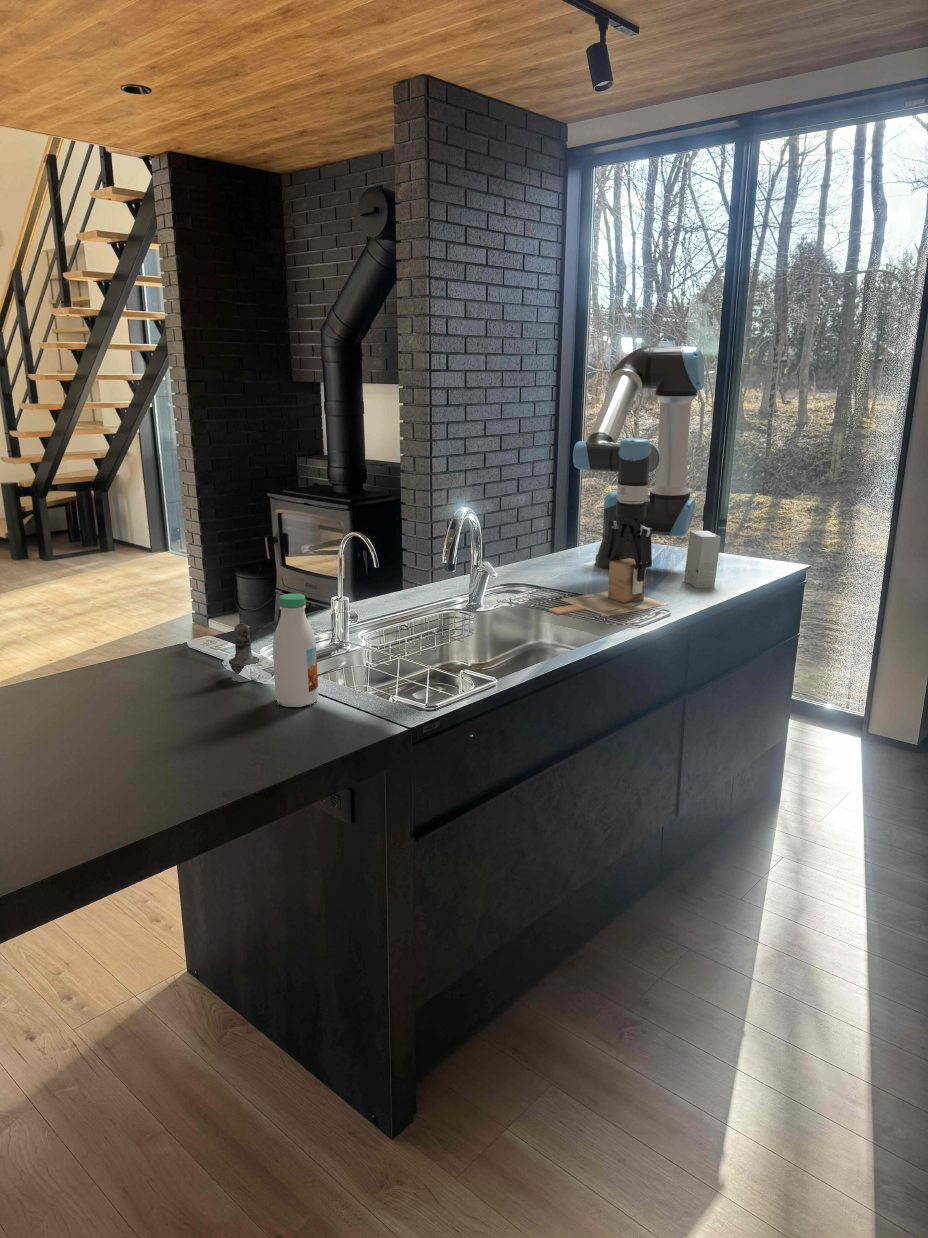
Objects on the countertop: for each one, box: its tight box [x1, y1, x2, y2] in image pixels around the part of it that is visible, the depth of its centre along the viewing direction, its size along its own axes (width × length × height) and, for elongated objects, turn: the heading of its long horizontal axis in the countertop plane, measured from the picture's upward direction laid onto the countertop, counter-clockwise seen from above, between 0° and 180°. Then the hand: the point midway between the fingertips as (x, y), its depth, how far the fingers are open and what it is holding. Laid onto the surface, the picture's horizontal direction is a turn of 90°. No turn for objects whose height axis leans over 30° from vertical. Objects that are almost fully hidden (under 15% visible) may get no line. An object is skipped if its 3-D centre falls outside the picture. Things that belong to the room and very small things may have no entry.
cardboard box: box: [607, 558, 647, 604], centre depth 223 cm, size 7×6×10 cm
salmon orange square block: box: [547, 606, 571, 616], centre depth 214 cm, size 4×4×2 cm
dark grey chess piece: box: [228, 619, 260, 674], centre depth 169 cm, size 6×6×12 cm
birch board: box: [559, 590, 670, 617], centre depth 223 cm, size 21×18×1 cm
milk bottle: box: [272, 592, 319, 705], centre depth 156 cm, size 8×8×20 cm
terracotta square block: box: [562, 604, 585, 614], centre depth 216 cm, size 4×4×2 cm
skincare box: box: [683, 530, 722, 589], centre depth 244 cm, size 8×6×15 cm
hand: (626, 589), depth 224 cm, fingers open, 7 cm apart
